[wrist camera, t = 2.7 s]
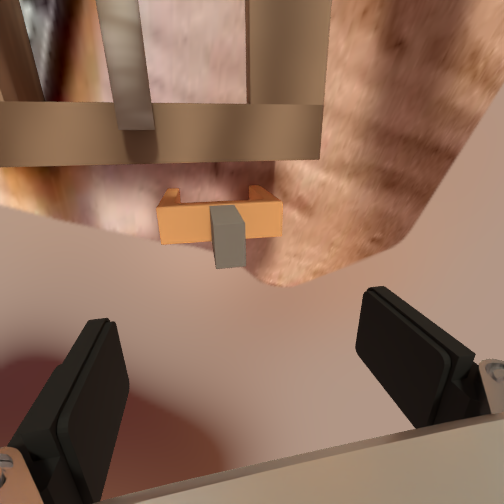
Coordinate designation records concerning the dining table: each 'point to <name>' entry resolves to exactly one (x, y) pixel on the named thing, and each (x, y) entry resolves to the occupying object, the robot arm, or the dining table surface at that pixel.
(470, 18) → the dining table surface
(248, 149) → the tan open frame
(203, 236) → the orange u-shaped bracket
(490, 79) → the dining table surface
